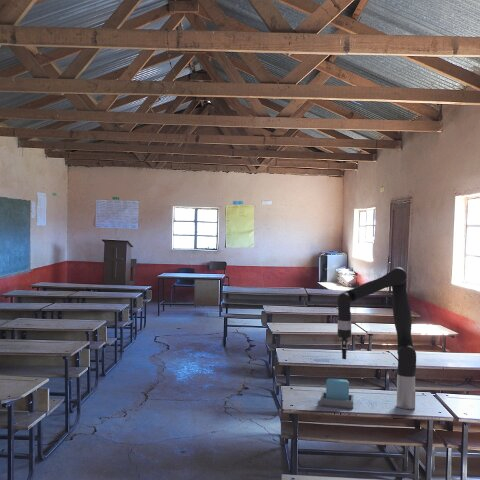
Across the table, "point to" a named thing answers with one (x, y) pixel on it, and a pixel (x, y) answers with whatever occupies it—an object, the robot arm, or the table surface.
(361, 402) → the table surface
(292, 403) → the table surface
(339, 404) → the holder tray
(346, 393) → the light blue flat block
